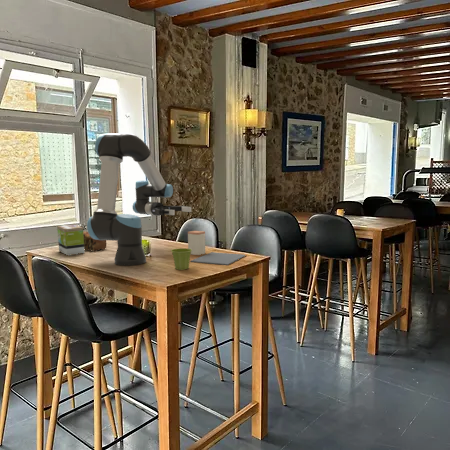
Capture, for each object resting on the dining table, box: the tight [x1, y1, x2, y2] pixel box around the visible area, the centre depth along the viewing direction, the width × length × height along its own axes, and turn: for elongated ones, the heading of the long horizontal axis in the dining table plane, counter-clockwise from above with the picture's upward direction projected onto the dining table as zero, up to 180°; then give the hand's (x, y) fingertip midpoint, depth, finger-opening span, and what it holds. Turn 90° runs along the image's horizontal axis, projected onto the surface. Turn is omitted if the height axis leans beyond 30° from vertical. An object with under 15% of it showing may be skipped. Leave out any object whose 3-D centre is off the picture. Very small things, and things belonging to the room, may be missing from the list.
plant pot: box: [170, 248, 192, 271], centre depth 196 cm, size 9×9×9 cm
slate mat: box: [190, 251, 246, 266], centre depth 217 cm, size 24×20×1 cm
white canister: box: [187, 230, 206, 256], centre depth 231 cm, size 6×7×12 cm
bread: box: [83, 230, 108, 252], centre depth 248 cm, size 19×11×10 cm, turn 59°
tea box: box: [56, 224, 85, 256], centre depth 236 cm, size 15×10×15 cm, turn 37°
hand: (182, 211), depth 233 cm, fingers open, 13 cm apart
